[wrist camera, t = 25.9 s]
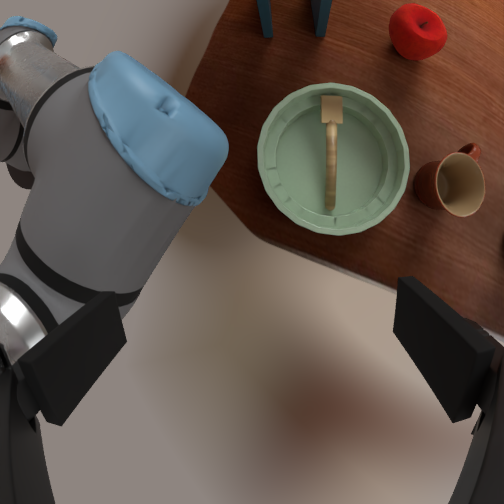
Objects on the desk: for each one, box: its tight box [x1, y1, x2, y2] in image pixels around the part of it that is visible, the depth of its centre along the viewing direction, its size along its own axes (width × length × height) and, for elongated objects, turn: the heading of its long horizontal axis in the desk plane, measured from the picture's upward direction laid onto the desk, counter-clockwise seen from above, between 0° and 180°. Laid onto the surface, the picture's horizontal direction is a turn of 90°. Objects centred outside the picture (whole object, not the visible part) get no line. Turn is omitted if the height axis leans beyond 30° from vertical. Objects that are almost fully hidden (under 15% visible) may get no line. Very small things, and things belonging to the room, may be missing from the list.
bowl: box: [257, 83, 410, 236], centre depth 42 cm, size 21×21×7 cm
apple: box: [389, 3, 447, 61], centre depth 34 cm, size 9×9×11 cm
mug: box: [414, 143, 485, 218], centre depth 38 cm, size 12×9×10 cm
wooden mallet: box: [320, 95, 343, 211], centre depth 42 cm, size 17×3×2 cm, turn 0°
